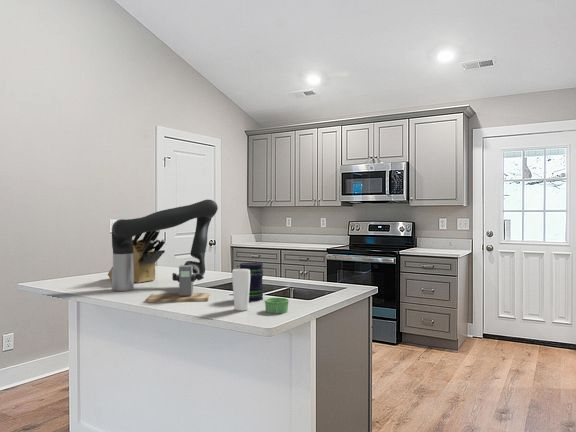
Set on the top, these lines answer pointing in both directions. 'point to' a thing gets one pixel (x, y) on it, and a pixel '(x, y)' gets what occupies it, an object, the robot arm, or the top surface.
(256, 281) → the storage jar
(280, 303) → the ramekin
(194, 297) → the board
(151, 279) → the knife block
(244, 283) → the drinking glass
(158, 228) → the robot arm
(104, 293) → the top surface
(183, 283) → the tall grey rectangular prism
